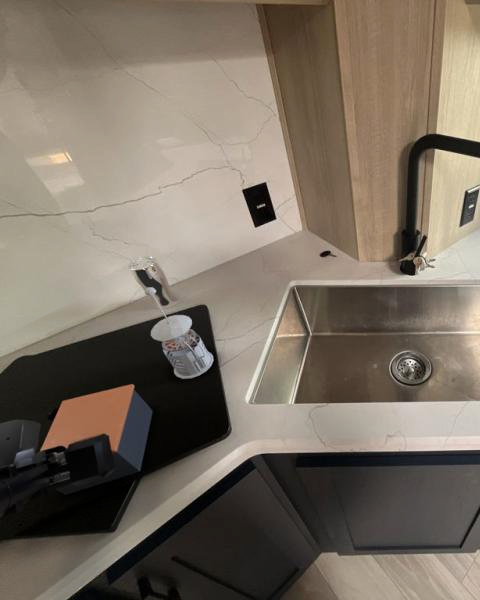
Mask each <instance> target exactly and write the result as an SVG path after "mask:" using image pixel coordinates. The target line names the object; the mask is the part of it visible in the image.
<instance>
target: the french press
mask: <svg viewBox="0 0 480 600" xmlns="http://www.w3.org/2000/svg"><path fill="white" fill-rule="evenodd" d="M155 293H156V290H155V289H154V288H153V287H148V288H147V289H146V290H145V291H144V294H145V295H146V296H149V295H152V297H153V298H154V300H155V301H156V303H157V305H158V306H159V308H160V309H159V310H160V312H161V313H162V315H163V316H164V319H161V320H159V321H158V322H157V323H156V324H155V325H154V326H153V327H152V329H151V330H150V336H151V338H152V339H153V340H155V341H157V342H161V348H162V352H163V354H164V355H165V356H166V358H167V360H168V361H169V363H170V364H171V365H172V367H173V373H174V375H175V376H176V377H177V378H180V379H182V380H185V379H193V378H196V377H198V376H201V375H202V374H204V373H206V372H207V371H208V370H209V369H210V368H211V367H212V365H213V362H214V355H213V354H212V352H209V351H208V349H207V348H206V346H205V344H204V342H203V340H202V338H201V337H200V335H199V334H198V333H197V332H196V331H195V330H194V329H191V327H192V325H193V321H192V320H193V319H192V318H190V316H188V315H184V314H174V315H170V316H166V314H165V312H164V309H161V307H160V305H159V304H158V302H157V300H156V299H155V297H154V295H153V294H155Z"/></svg>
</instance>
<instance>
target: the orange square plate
mask: <svg viewBox="0 0 480 600" xmlns="http://www.w3.org/2000/svg"><path fill="white" fill-rule="evenodd" d="M133 390H135V385H134V384H133V383H131V384H127V385H122V386H119V387H115V388H114V387H113V388H111V389H107V390H101V391H98V392H94V393H90V394H86V395H81V396H77V397H74V398H70V399H65V400H62V402H61V404H60V405H59V408H58V410H57V413H56V415H55V417H54V419H53V421H52V424H51V425H50V428H49V430H48V432H47V435H46V437H45V438H44V442H43V444H42V446H41V447H40V450H39V452H40V451H42V450H46V449H50V448H53V447H57V446H64V447H66V448H68V445H69V444H71V443H73V442H76V441H79V440H82V439H85V438H89V437H92V436H96V435H99V434H103V433H104V434H106V435H109V439H110V444H111V449H112V453H115V452H117V449H118V445H119V442H120V438H121V434H122V431H123V427H124V423H125V420H126V416H127V412H128V409H129V405H130V401H131V398H132V394H133Z"/></svg>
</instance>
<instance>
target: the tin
mask: <svg viewBox="0 0 480 600" xmlns="http://www.w3.org/2000/svg"><path fill="white" fill-rule="evenodd" d="M153 412H154V411H153V410H152V408H151V407H150V406H149V405H148V404H147V403H146V402H145V400H144V399H143V398H142V397H141V396H140V395H139V393H137V391H136V390H135V389H134V390H133V394H132V398H131V401H130V405H129V409H128V412H127V416H126V420H125V423H124V427H123V431H122V434H121V438H120V442H119V445H118V449H117V452H115V453H112V454H113V460H114V465H115V469H114V470H113V472H112V473H111V474H109V475H108V476H107V477H105V478H103V479H100V480H96V481H93V482H90V483H87V484H83V485H80V486H75V485H73V484H72V483H70V484H69V485H67V486H64V487H61V488H57V489H55V490H56V491H58V492H60V493H62V494H63V495H65V496H67V495H70V494H73V493H76V492H79V491H83V490H86V489H89V488H92V487H95V486H99V485H102V484H105V483H108V482H111V481H115V480H117V479H118V480H119V479H121V478H124V477H128V476H130V475H134V474H137V473H140V472H141V470H142V466H143V460H144V456H145V450H146V445H147V441H148V435H149V431H150V426H151V421H152V417H153ZM136 469H137V470H136ZM132 470H133V471H132Z"/></svg>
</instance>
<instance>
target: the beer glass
mask: <svg viewBox="0 0 480 600" xmlns="http://www.w3.org/2000/svg"><path fill="white" fill-rule="evenodd" d="M127 267H128V269H129V271H130V273H131V274H132V276H133V279H134V280H135V282H136V283H137V284H138V286H139V287H140V288H141V289H142V290H143V291H144V292H145V290H146V289H147V288H148V287H153V288H154V289H155V290H156V293H155V294H153V295H154V297H155V299H156V300H157V302H158V304H159V305H160V307H161V309H162V310H166V309H168V308H171V307H172V306H173V307H174V305H175V304H176V303H177V301H178V298H177V297H176V296H175V294H174V293H173V292H172V291H171V288H170V284H169V280H168V278H167V275H166V273H165V271H164V269H163V267H162V266H161V264H160V263H159V261H158V260H157V258H156V257H154V256H143V257H142V256H141V257H139V258H136V259H134V260H132V261H131V262H129V264H128V266H127ZM148 297H149V298H150V299H151V301H152V305H153V308H154V309H157V310H160V308H159V306H158V305H157V303H156V301H155V300H154V298H153V297H152V295H148Z"/></svg>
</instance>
